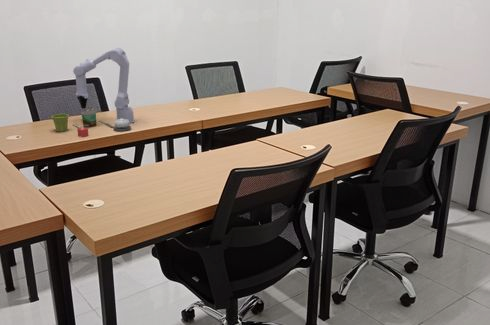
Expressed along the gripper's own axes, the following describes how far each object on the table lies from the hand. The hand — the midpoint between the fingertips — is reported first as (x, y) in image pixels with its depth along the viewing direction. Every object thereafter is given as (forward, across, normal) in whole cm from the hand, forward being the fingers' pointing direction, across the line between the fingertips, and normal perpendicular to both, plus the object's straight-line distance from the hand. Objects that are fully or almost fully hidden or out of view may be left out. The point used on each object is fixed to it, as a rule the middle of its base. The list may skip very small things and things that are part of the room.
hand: (83, 108), depth 301 cm
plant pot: (+9, +12, -18) cm, 23 cm away
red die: (+8, +30, -12) cm, 33 cm away
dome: (+6, +30, +11) cm, 33 cm away
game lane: (+8, +14, 0) cm, 16 cm away
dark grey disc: (+8, +30, +11) cm, 33 cm away
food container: (+8, +12, 0) cm, 15 cm away
